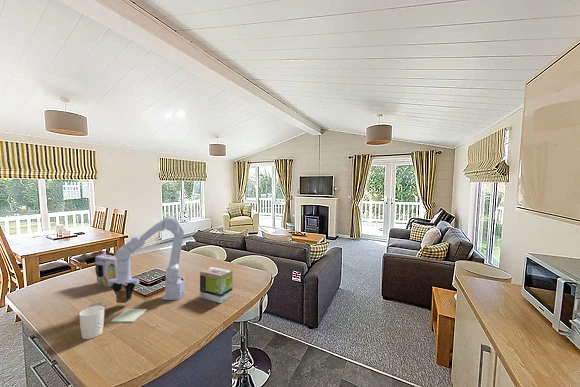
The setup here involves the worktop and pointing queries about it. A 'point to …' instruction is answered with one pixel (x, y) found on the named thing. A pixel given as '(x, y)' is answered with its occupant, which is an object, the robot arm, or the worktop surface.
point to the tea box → (216, 284)
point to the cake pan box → (105, 269)
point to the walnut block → (122, 296)
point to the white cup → (91, 321)
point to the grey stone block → (95, 304)
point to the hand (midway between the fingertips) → (124, 297)
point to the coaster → (129, 315)
